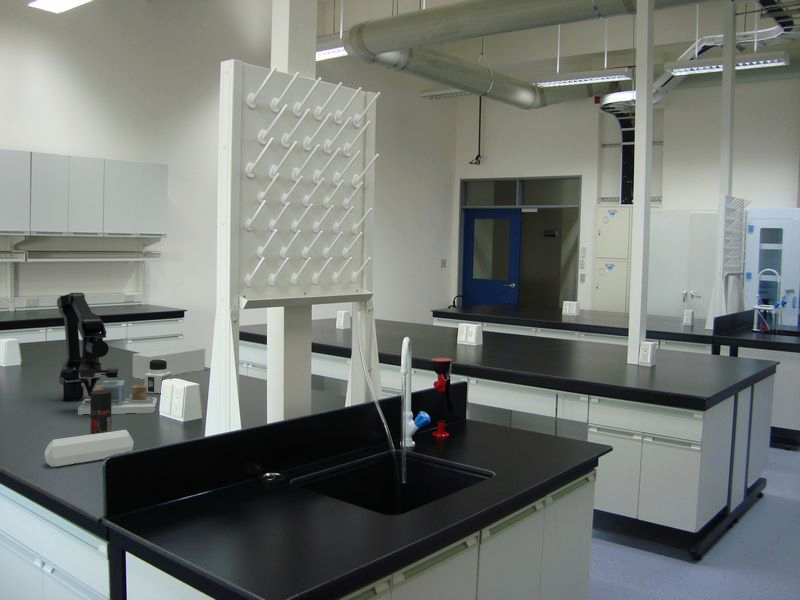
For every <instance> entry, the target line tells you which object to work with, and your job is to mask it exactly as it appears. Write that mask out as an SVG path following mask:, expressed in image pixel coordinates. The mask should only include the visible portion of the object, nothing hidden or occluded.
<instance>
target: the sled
mask: <svg viewBox="0 0 800 600" xmlns="http://www.w3.org/2000/svg"><path fill="white" fill-rule="evenodd" d="M101 385H102V384H101ZM101 385H99V384H98V385H97V384H96V385H95V386H94V391H96V390H101ZM153 398H154V396H147V398H146V400H132V393H130V394H129V397H127V398H122V401H129V402H145V401H152V400H153ZM111 401H119V399H111Z"/></svg>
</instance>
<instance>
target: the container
mask: <svg viewBox="0 0 800 600" xmlns="http://www.w3.org/2000/svg"><path fill="white" fill-rule="evenodd" d="M166 371H167V361H165V360H163V359H155V360H152V361H150V372H149V373H146V374H145V380H144V385H147V394H153V393H159V394H158V395H161V394H160V392H161V385H162V381H163V380H165V379H171V380H172V377H171V372H166Z"/></svg>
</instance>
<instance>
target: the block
mask: <svg viewBox="0 0 800 600" xmlns="http://www.w3.org/2000/svg"><path fill="white" fill-rule="evenodd" d="M131 389H132V390H131V392H132V393H131V394H132V400H146V398H147V397H148V395H147V394H148V393H147V385H145V384H133V385H132V388H131Z"/></svg>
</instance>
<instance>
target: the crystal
mask: <svg viewBox="0 0 800 600" xmlns="http://www.w3.org/2000/svg"><path fill="white" fill-rule="evenodd" d="M134 443H135V441H134V440H133V437H132V436H131V434H130V433H129V432H128V431H127V429H121V430H115V431H114V430H113V431H111V432H106V433H98V434H91V433H90V434H85V435H77V436H72V437H71V436H70V437H63V438H56V439H52V440H51V441H50V442H49V443H48V445H47V447H46V448H45V450H44V459H45V462H46V464H47V465H49V466H50V467H52V468H55V467H62V466H69V465H73V464H74V465H75V463H76V464H82V463H88V462H93V461H99V460H100V459H101V460H106V459H105V458H106V457H108V456H111V455H114V454H118V453H124V452H127V451H131V452H132V451H133V447H134Z"/></svg>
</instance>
